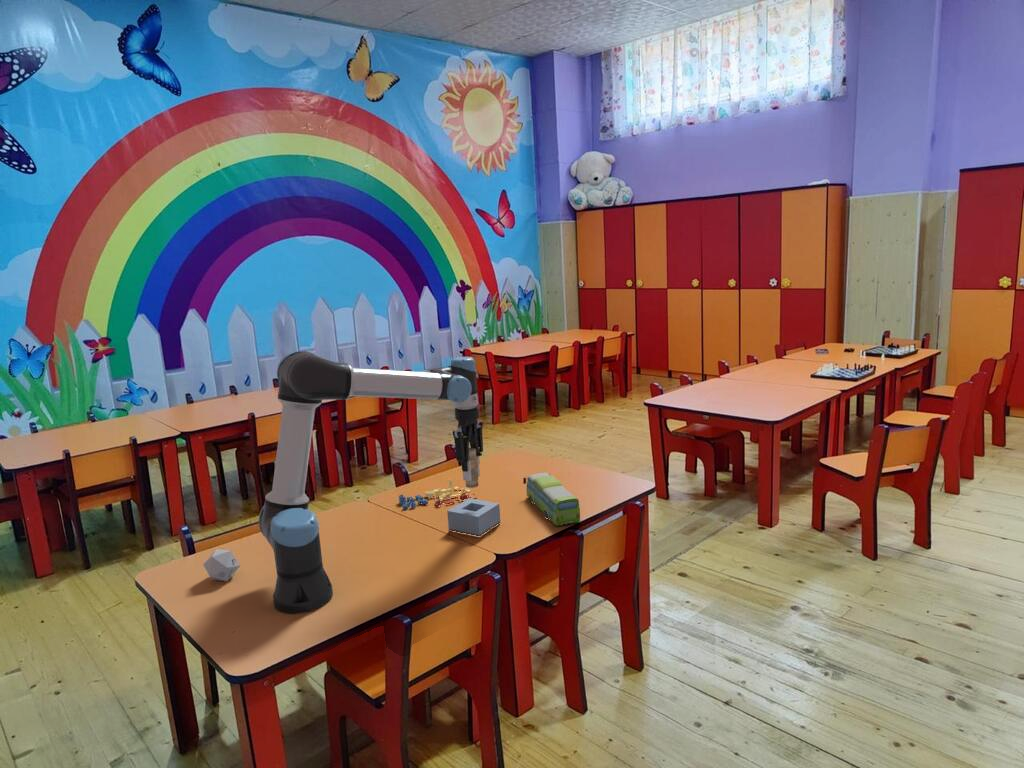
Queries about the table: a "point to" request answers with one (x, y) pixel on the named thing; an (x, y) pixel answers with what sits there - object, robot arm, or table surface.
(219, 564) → the die
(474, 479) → the peg
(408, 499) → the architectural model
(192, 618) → the table surface
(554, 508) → the toy bus
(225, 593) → the table surface
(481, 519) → the socket block
